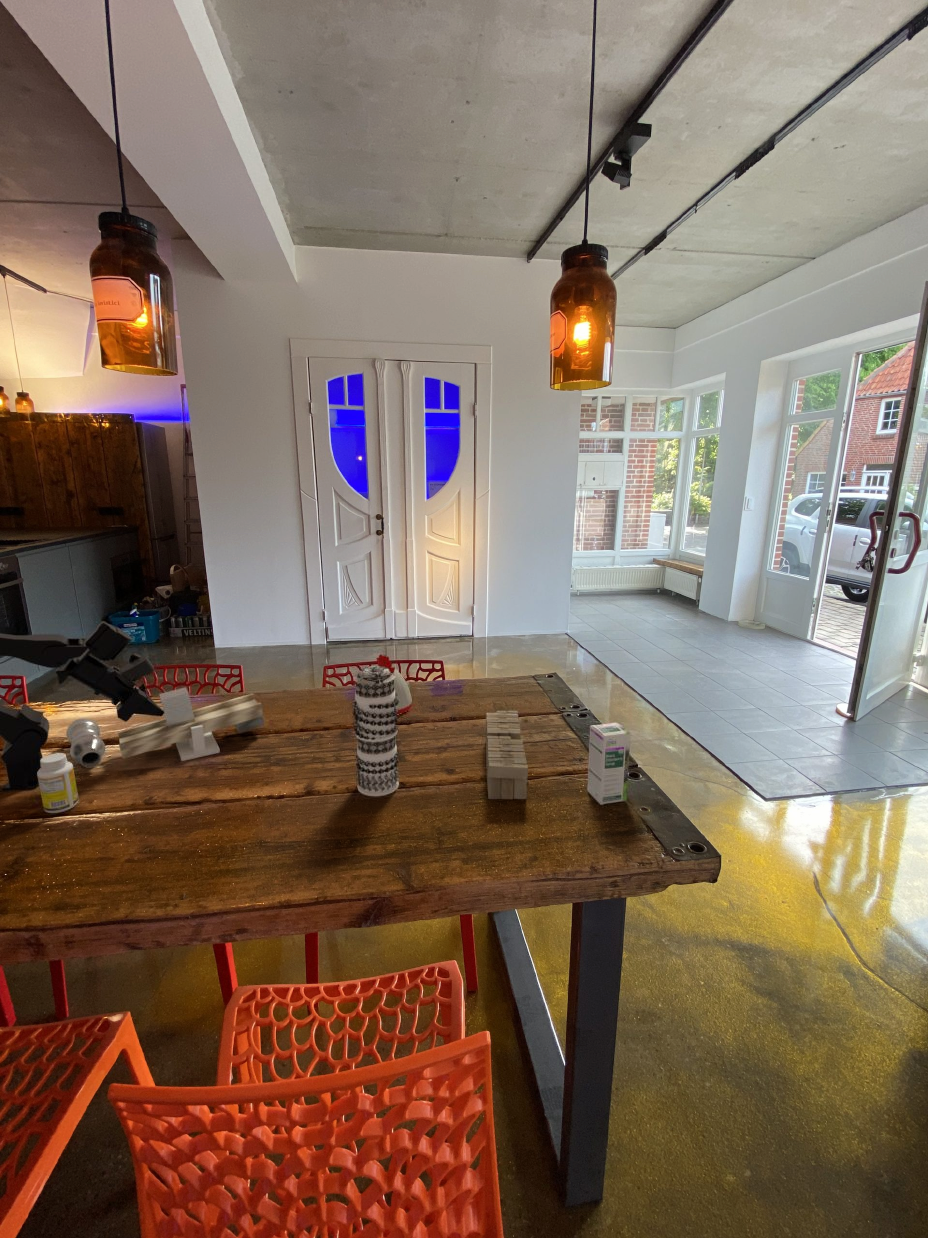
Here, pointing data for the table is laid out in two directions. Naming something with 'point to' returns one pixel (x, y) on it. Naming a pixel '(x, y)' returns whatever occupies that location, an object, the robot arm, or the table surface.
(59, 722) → the table surface
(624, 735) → the syrup box
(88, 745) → the silver metal bottle
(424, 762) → the table surface
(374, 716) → the white patterned cylinder
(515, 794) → the block tower
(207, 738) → the beam stand
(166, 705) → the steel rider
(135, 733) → the balance beam
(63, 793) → the supplement bottle
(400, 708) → the kitchen timer
